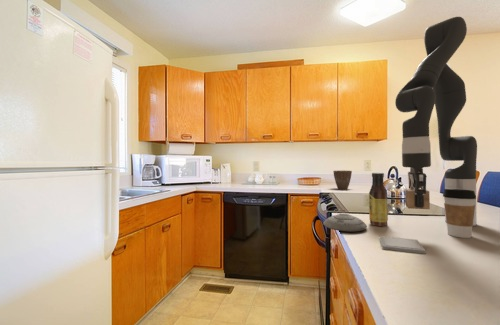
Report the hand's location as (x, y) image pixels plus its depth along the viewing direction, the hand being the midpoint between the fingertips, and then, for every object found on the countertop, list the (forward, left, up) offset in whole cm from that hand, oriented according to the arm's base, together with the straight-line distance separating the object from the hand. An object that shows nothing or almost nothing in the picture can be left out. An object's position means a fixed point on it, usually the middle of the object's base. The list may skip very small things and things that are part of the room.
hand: (417, 205), depth 79 cm
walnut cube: (0, 0, -1) cm, 1 cm away
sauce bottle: (-14, -10, -10) cm, 20 cm away
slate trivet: (+10, -6, -10) cm, 16 cm away
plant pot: (-135, -29, -10) cm, 138 cm away
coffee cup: (-8, +13, -10) cm, 18 cm away
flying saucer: (-4, -22, -11) cm, 25 cm away
